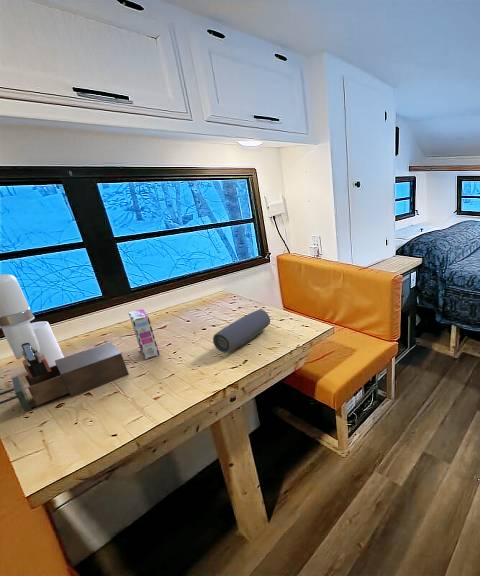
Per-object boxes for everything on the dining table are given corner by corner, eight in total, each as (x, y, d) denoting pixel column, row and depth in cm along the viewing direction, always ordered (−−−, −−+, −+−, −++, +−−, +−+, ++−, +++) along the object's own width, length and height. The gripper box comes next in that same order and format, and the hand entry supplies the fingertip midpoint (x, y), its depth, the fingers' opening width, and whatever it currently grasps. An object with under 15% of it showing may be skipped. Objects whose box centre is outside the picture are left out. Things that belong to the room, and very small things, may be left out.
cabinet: (71, 397, 95) (60, 374, 92) (64, 382, 102) (54, 360, 99) (128, 374, 106) (121, 353, 103) (118, 362, 113) (111, 342, 110)
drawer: (-14, 427, 83) (-26, 407, 81) (-15, 409, 90) (-26, 390, 87) (87, 387, 98) (79, 369, 96) (79, 374, 105) (72, 357, 102)
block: (30, 378, 90) (23, 365, 88) (28, 373, 93) (22, 360, 91) (51, 371, 93) (45, 358, 92) (49, 366, 96) (43, 354, 94)
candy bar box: (161, 355, 117) (148, 316, 112) (145, 360, 114) (131, 321, 108) (155, 344, 125) (143, 308, 119) (140, 349, 121) (127, 312, 116)
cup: (49, 371, 108) (30, 331, 103) (26, 372, 108) (6, 332, 103) (71, 358, 116) (55, 321, 111) (50, 359, 116) (32, 321, 111)
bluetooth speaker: (256, 327, 137) (252, 307, 134) (273, 330, 134) (269, 309, 131) (214, 353, 117) (208, 330, 114) (233, 357, 114) (228, 334, 111)
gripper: (-9, 315, 89) (18, 367, 95) (-7, 331, 79) (24, 389, 85) (29, 306, 94) (52, 357, 101) (35, 320, 84) (61, 375, 91)
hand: (39, 371), depth 93 cm, fingers closed on block, 4 cm apart
